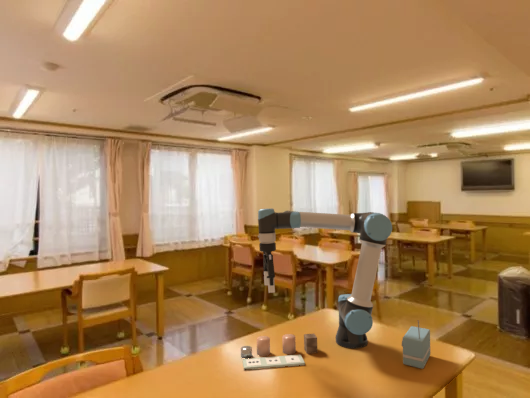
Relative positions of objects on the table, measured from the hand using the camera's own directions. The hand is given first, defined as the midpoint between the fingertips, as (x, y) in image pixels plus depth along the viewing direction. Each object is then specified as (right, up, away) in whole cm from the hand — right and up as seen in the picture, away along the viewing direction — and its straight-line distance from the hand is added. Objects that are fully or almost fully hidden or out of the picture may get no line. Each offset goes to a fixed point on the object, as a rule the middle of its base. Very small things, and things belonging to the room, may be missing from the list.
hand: (269, 288), depth 158 cm
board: (+1, -30, -9) cm, 31 cm away
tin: (-10, -30, -2) cm, 32 cm away
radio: (+63, -29, -9) cm, 70 cm away
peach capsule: (+9, -30, +2) cm, 31 cm away
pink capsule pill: (-3, -30, +1) cm, 30 cm away
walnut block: (+19, -30, +2) cm, 35 cm away
